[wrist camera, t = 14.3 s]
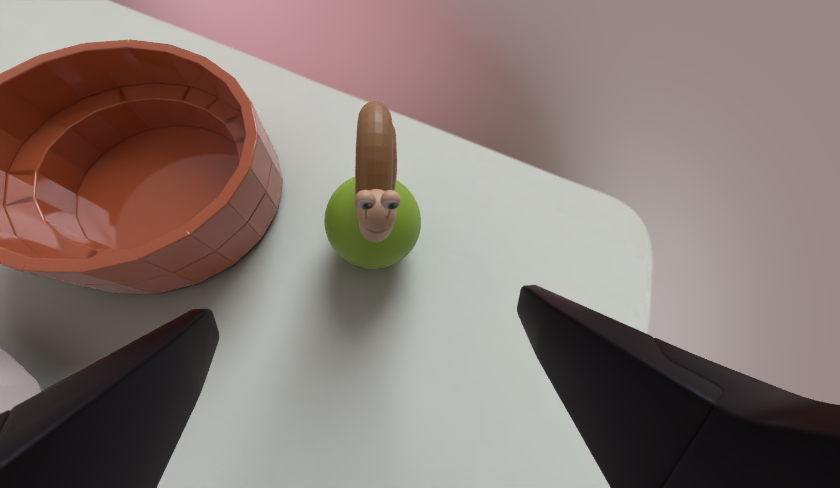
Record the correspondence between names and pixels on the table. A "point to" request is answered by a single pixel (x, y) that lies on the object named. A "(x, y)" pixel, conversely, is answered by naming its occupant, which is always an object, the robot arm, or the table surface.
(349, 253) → the snail figurine
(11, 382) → the robot toy
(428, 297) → the table surface
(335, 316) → the table surface
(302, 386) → the table surface
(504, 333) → the table surface
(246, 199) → the bowl
